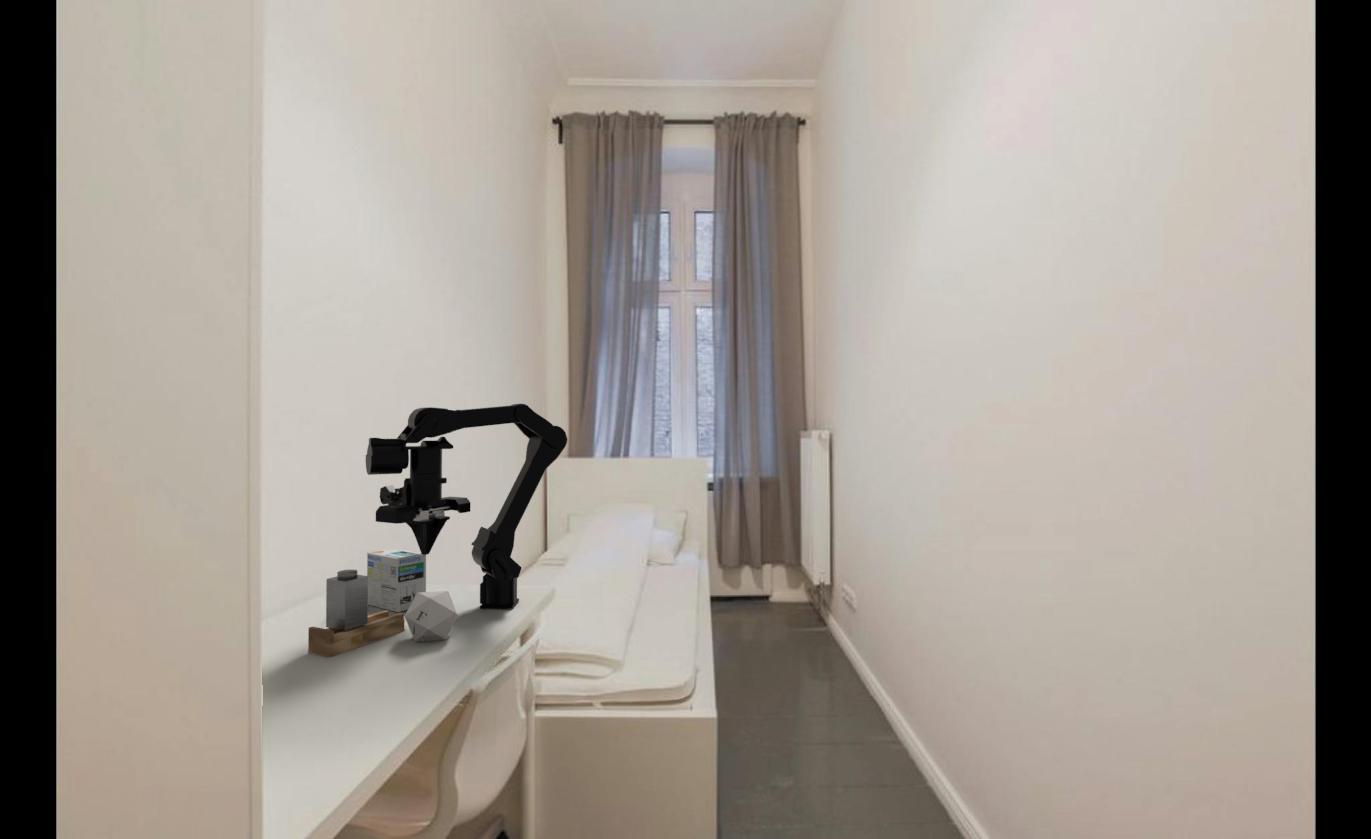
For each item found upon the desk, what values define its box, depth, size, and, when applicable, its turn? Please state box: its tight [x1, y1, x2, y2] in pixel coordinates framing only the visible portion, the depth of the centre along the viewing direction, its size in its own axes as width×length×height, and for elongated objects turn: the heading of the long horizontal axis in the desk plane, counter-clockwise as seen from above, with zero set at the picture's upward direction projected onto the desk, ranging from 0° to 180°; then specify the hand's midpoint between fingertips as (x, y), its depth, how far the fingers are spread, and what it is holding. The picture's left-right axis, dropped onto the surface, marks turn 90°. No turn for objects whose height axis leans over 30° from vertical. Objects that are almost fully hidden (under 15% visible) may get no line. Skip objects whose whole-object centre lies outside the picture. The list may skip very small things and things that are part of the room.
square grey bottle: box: [325, 569, 369, 633], centre depth 112 cm, size 4×4×10 cm
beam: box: [307, 609, 406, 658], centre depth 115 cm, size 15×5×4 cm, turn 156°
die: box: [404, 590, 458, 643], centre depth 116 cm, size 8×9×10 cm
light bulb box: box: [366, 547, 427, 613], centre depth 137 cm, size 11×7×11 cm, turn 58°
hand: (425, 554), depth 128 cm, fingers closed
